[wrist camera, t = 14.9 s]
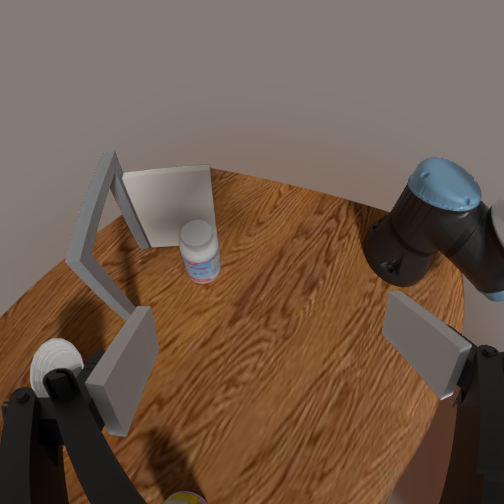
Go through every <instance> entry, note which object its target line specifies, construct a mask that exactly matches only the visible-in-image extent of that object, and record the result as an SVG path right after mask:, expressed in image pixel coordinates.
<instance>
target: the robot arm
mask: <svg viewBox="0 0 504 504" xmlns="http://www.w3.org/2000/svg"><path fill="white" fill-rule="evenodd" d="M437 250H439V251H440V252H441V253H443V254H444V255H445V256H446V257H447V258H448V259H449V260H450V261H451V262H452V263H453V264H454V265H455V266H456V267H457V268H458V269H459V270H460V271H461V272H462V273H463V274H464V275H465V276H466V277H467V279H468V280H469V281H470V282H471V283H472V284H473V285H474V286H475V288H476V289H477V290H478V291H479V292H481V293H482V294H483V295H485V296H486V297H487V298H488V299H489V300H491V301H495V302H501V301H504V200H498V201H496V202H495V203H494V204H493V205H492V207H491V208H490V209H489V208H488V207H487V206H486V205H485V204H484V203H483V202H482V201H481V190H480V187H479V185H478V183H477V182H476V181H474V178H473V177H472V175H470V174H469V173H468V172H467V171H466V170H465V169H463V168H462V167H461V166H459V165H457V164H455V163H454V162H451V161H449V160H446V159H443V158H436V157H433V158H427V159H425V160H423V161H422V162H421V163H420V164H419V165H418V166H417V168H416V170H415V171H414V173H413V174H412V175H411V176H410V177H409V179H408V183H407V185H406V187H405V189H404V191H403V192H402V194H401V196H400V197H399V199H398V201H397V203H396V204H395V206H394V207H393V209H392V211H391V212H390V213H389V214H388V215H386V216H385V217H383V218H382V219H380V220H379V221H377V222H376V223H375V224H374V225H373V226H372V227H371V228H370V230H369V232H368V233H367V235H366V238H365V241H364V251H365V255H366V258H367V261H368V263H369V264H370V266H371V268H372V269H373V270H374V272H375V273H376V274H377V275H378V276H379V277H381V278H382V279H383V280H385V281H386V282H388V283H390V284H392V285H395V286H399V287H409V286H412V285H414V284H416V283H418V282H419V281H420V280H421V279H422V278H423V277H424V276H425V275H426V273H427V272H428V269H429V267H430V264H431V261H432V259H433V257H434V254H435V253H436V251H437ZM382 334H383V335H384V337H385V338H386V339H387V340H388V341H389V342H390V343H391V344H392V345H393V346H394V347H395V349H396V350H397V351H398V352H399V353H400V354H401V355H402V356H403V357H404V359H405V360H406V361H407V362H408V363H409V364H410V365H411V366H412V368H413V369H414V370H415V371H416V372H417V373H418V374H419V375H420V377H421V378H422V379H423V380H424V381H425V382H426V383H427V385H428V386H429V387H430V388H431V389H432V390H433V392H434V393H435V394H436V395H437V396H438V397H439V399H440V400H442V399H444V398H446V397H449V396H451V395H452V394H453V392H454V390H455V388H456V385H458V386H459V387H460V388H461V389H460V391H459V393H458V396H457V398H456V400H455V402H454V404H453V407H455V405H456V404H457V415H456V425H455V432H454V440H453V446H452V452H451V457H450V463H449V468H448V472H447V476H446V481H445V485H444V489H443V492H442V496H441V499H440V503H439V504H504V352H498V351H497V350H496V349H495V348H494V347H492V346H488V345H481V346H479V347H477V346H476V345H475V344H473V343H472V342H471V341H470V340H468V339H467V338H466V337H464V336H462V334H460V333H459V332H457V330H455V329H454V328H453V327H451V326H449V325H447V324H444V323H443V322H442V321H440V320H439V319H438V318H436V317H435V316H434V315H432V314H431V313H430V312H428V311H427V310H426V309H424V308H423V307H421V306H420V305H419V304H417V303H416V302H415V301H413V300H412V299H410V298H409V297H408V296H406V295H405V294H403V293H402V292H401V291H391V292H388V299H387V306H386V312H385V318H384V324H383V329H382ZM158 352H159V347H158V342H157V337H156V332H155V327H154V321H153V316H152V310H151V306H137V307H136V309H135V310H134V312H133V313H132V314H131V316H130V317H129V318H128V320H127V321H126V323H125V324H124V326H123V327H122V328H121V330H120V331H119V333H118V334H117V336H116V337H115V338H114V340H113V341H112V343H111V344H110V346H109V347H108V349H107V350H99V351H98V352H96V353H95V354H93V355H92V356H91V357H90V359H89V360H88V361H87V364H85V366H84V367H83V369H82V370H81V371H80V373H79V374H78V376H77V377H76V378H75V376H74V374H73V372H72V371H71V370H69V369H67V368H57V369H54V370H51V371H49V372H48V373H47V374H45V376H44V377H43V381H42V383H43V385H44V387H45V389H46V391H47V393H48V395H49V397H37V395H36V393H35V392H34V390H33V389H31V388H29V387H22V388H18V389H16V390H15V391H14V392H13V393H12V394H11V395H10V398H9V401H8V406H7V410H6V415H5V419H4V425H3V430H2V436H1V442H0V504H69V502H68V496H67V489H66V482H65V473H64V462H63V447H62V445H65V447H66V450H67V452H68V455H69V457H70V460H71V462H72V465H73V467H74V470H75V472H76V474H77V477H78V479H79V481H80V483H81V485H82V487H83V490H84V492H85V494H86V496H87V498H88V500H89V502H90V503H91V504H147V503H146V502H145V500H144V499H143V498H142V496H141V495H140V494H139V492H138V491H137V489H136V488H135V487H134V485H133V484H132V482H131V481H130V479H129V478H128V476H127V475H126V473H125V472H124V470H123V468H122V467H121V465H120V464H119V462H118V460H117V459H116V457H115V455H114V454H113V452H112V450H111V448H110V447H109V445H108V443H107V441H106V439H105V438H104V436H103V434H102V429H103V427H104V425H105V427H106V429H107V431H108V432H109V434H112V435H118V436H124V437H127V434H128V431H129V428H130V425H131V422H132V420H133V417H134V414H135V411H136V409H137V406H138V403H139V401H140V398H141V395H142V393H143V390H144V387H145V385H146V382H147V379H148V377H149V374H150V372H151V369H152V367H153V364H154V362H155V359H156V357H157V354H158Z"/></svg>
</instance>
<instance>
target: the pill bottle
mask: <svg viewBox="0 0 504 504" xmlns="http://www.w3.org/2000/svg"><path fill="white" fill-rule="evenodd" d="M180 252H181V255H182V259H183V261H184V264H185V268H186V271H187V274H188V276H189V277H190V278H191V279H192V280H193V281H195V282H197V283H203V284H204V283H209V282H211V281H213V280H214V279H215V278H216V277H217V276H218V274H219V272H220V255H219V245H218V240H217V237H216V235H215V234H214V233H213V232H212V228H211V226H210V225H209V224H208V223H207V222H205V221H202V220H193V221H190V222H188V223H187V224H185V225H184V226H183V228H182V230H181V241H180Z"/></svg>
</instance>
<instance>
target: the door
mask: <svg viewBox="0 0 504 504" xmlns="http://www.w3.org/2000/svg"><path fill="white" fill-rule="evenodd" d="M122 180H123V182H124V185H125V187H126V190H127V192H128V195H129V197H130V199H131V202H132V204H133V206H134V209H135V211H136V213H137V216H138V218H139V220H140V223H141V225H142V227H143V229H144V231H145V234H146V236H147V238H148V240H149V242H150V244H151V247H165V246H180V241H181V230H182V228H183V226H184V225H185V224H187V223H188V222H190V221H193V220H202V221H205V222H207V223H208V224H209V225H210V226H211V228H212V232H213V233H214V234H215V235H216V237H217V230H216V222H215V213H214V204H213V194H212V185H211V175H210V165H209V164H206V165H192V166H180V167H170V168H159V169H151V170H142V171H134V172H126V173H124V174H123V177H122Z"/></svg>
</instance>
